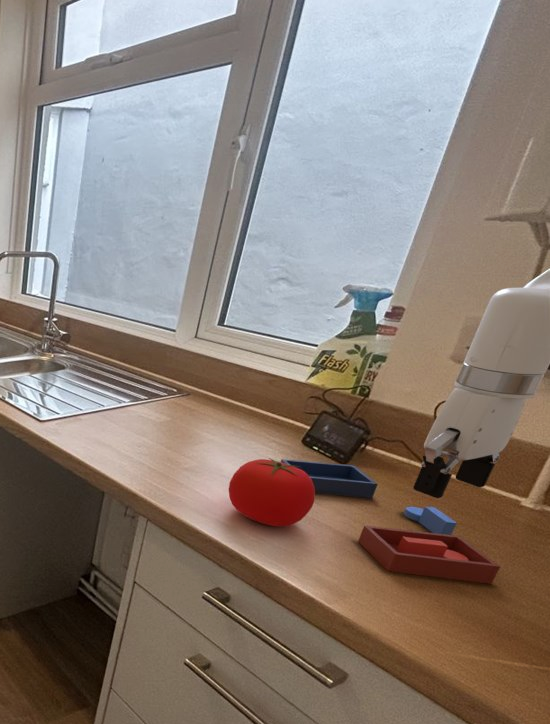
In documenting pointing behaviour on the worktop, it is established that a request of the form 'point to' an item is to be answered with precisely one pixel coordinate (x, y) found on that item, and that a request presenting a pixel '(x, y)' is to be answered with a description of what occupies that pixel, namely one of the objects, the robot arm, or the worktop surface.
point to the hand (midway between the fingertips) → (448, 488)
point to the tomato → (272, 492)
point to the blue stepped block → (431, 519)
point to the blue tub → (336, 478)
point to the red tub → (385, 552)
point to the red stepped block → (427, 548)
